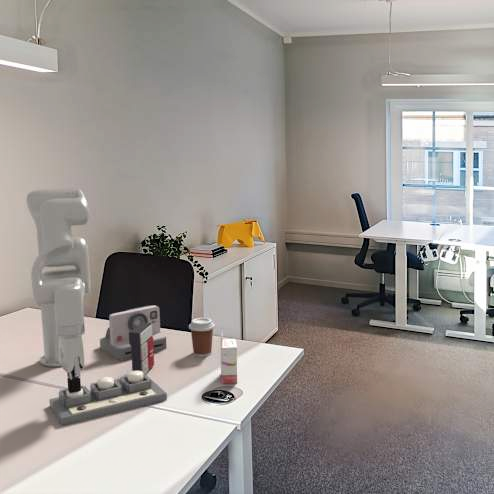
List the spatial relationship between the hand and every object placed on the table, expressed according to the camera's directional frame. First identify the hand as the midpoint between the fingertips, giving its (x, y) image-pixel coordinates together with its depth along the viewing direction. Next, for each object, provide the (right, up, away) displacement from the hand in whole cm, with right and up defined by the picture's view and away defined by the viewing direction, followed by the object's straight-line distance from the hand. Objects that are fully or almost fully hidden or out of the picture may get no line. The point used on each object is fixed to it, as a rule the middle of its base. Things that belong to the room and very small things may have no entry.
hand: (74, 391), depth 167 cm
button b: (+8, 0, +5) cm, 9 cm away
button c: (+15, +1, +9) cm, 18 cm away
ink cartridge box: (+43, -1, +20) cm, 48 cm away
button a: (0, -2, +1) cm, 2 cm away
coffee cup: (+33, +3, +43) cm, 54 cm away
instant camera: (+7, +3, +50) cm, 50 cm away
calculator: (+15, 0, +27) cm, 31 cm away
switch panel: (+9, -4, +4) cm, 10 cm away
